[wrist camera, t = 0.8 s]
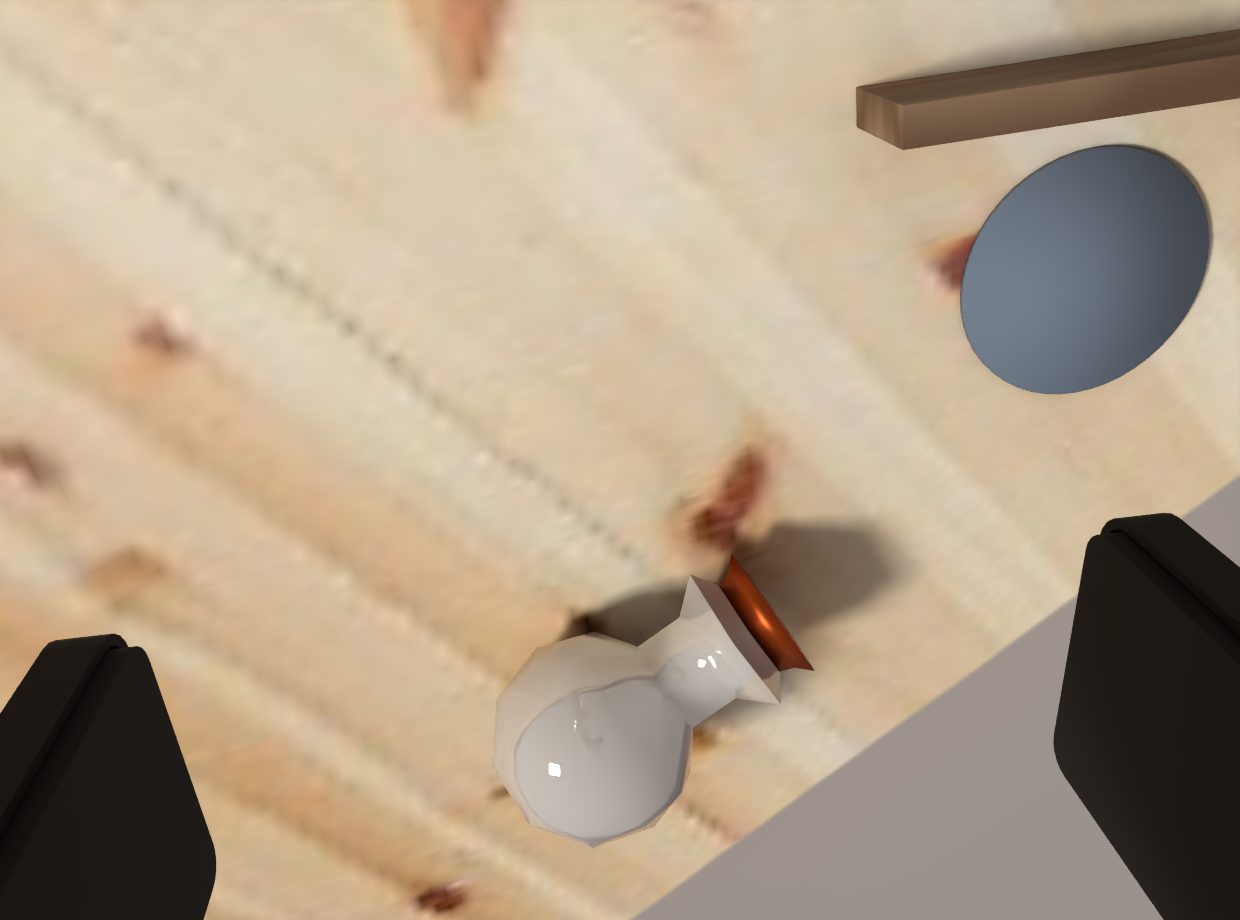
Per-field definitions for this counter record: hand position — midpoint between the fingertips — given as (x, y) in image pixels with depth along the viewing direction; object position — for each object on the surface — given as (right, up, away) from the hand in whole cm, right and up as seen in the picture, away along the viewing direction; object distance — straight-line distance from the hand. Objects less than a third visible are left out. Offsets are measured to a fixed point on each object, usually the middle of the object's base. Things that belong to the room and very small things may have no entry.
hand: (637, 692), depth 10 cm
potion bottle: (0, -7, +40) cm, 41 cm away
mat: (+20, +10, +34) cm, 41 cm away
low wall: (+19, +18, +30) cm, 39 cm away
